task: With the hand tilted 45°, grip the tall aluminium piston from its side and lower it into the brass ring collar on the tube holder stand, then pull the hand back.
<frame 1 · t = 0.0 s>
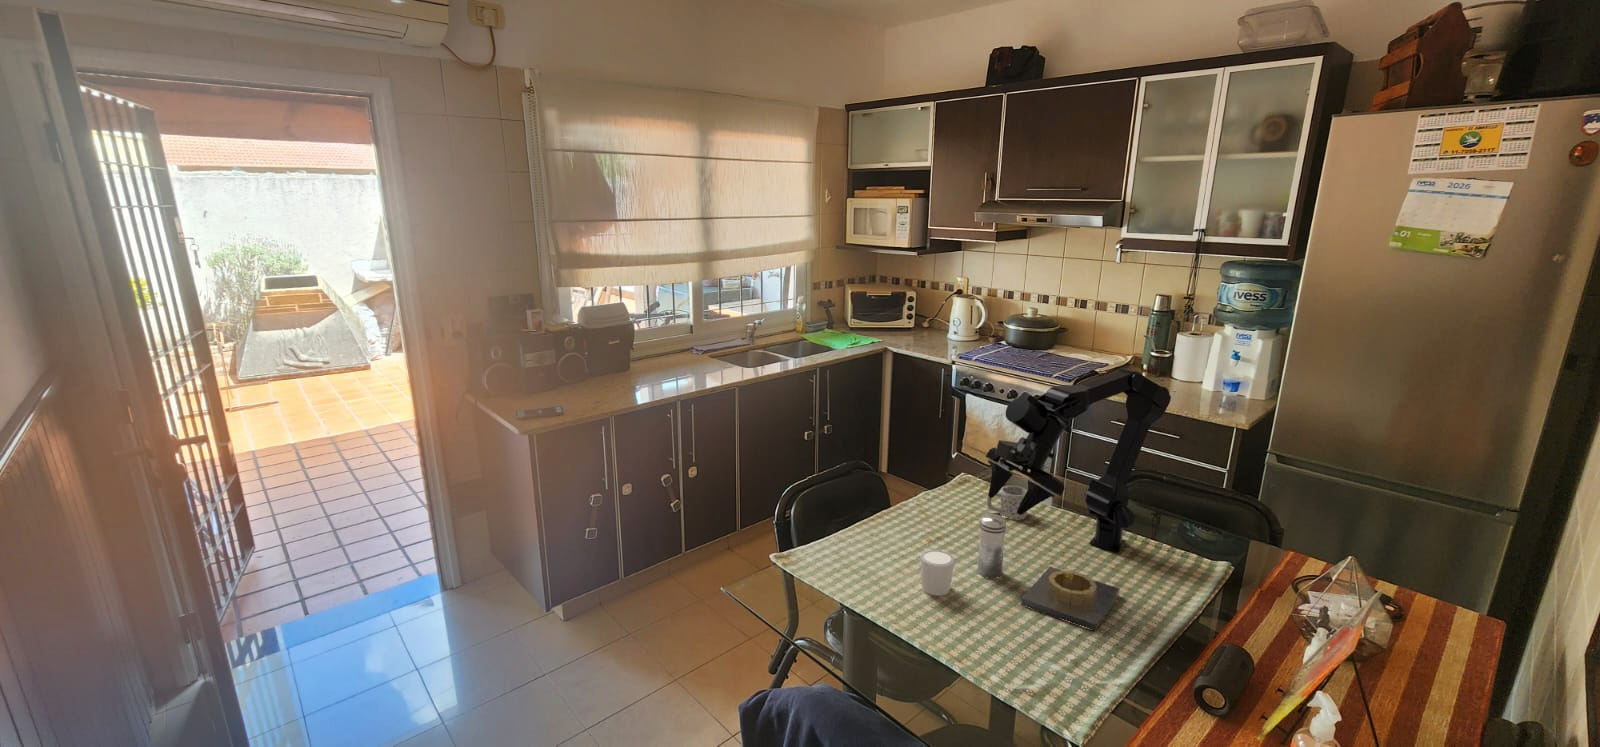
hand: (1003, 505, 142), 15 cm above the table, tool tilted 35°, fingers open, 9 cm apart
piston: (989, 572, 144), on the table
tube holder stand: (1070, 600, 134), on the table
mug: (1006, 514, 173), on the table
white cylinder: (935, 589, 138), on the table
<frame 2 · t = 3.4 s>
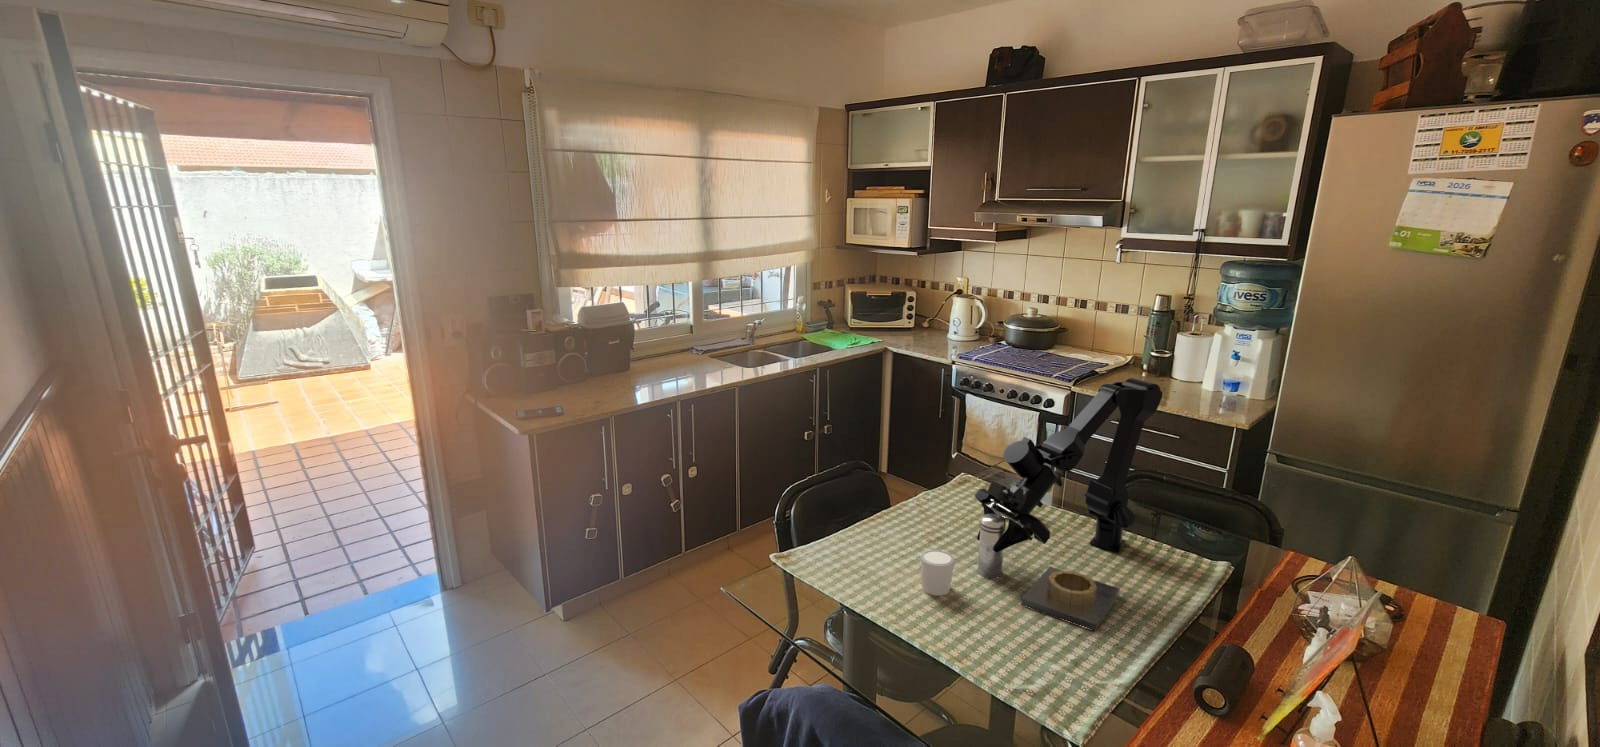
hand: (986, 545, 142), 7 cm above the table, tool tilted 45°, fingers closed on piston, 5 cm apart
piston: (989, 572, 144), on the table, touching gripper
everything else where it was.
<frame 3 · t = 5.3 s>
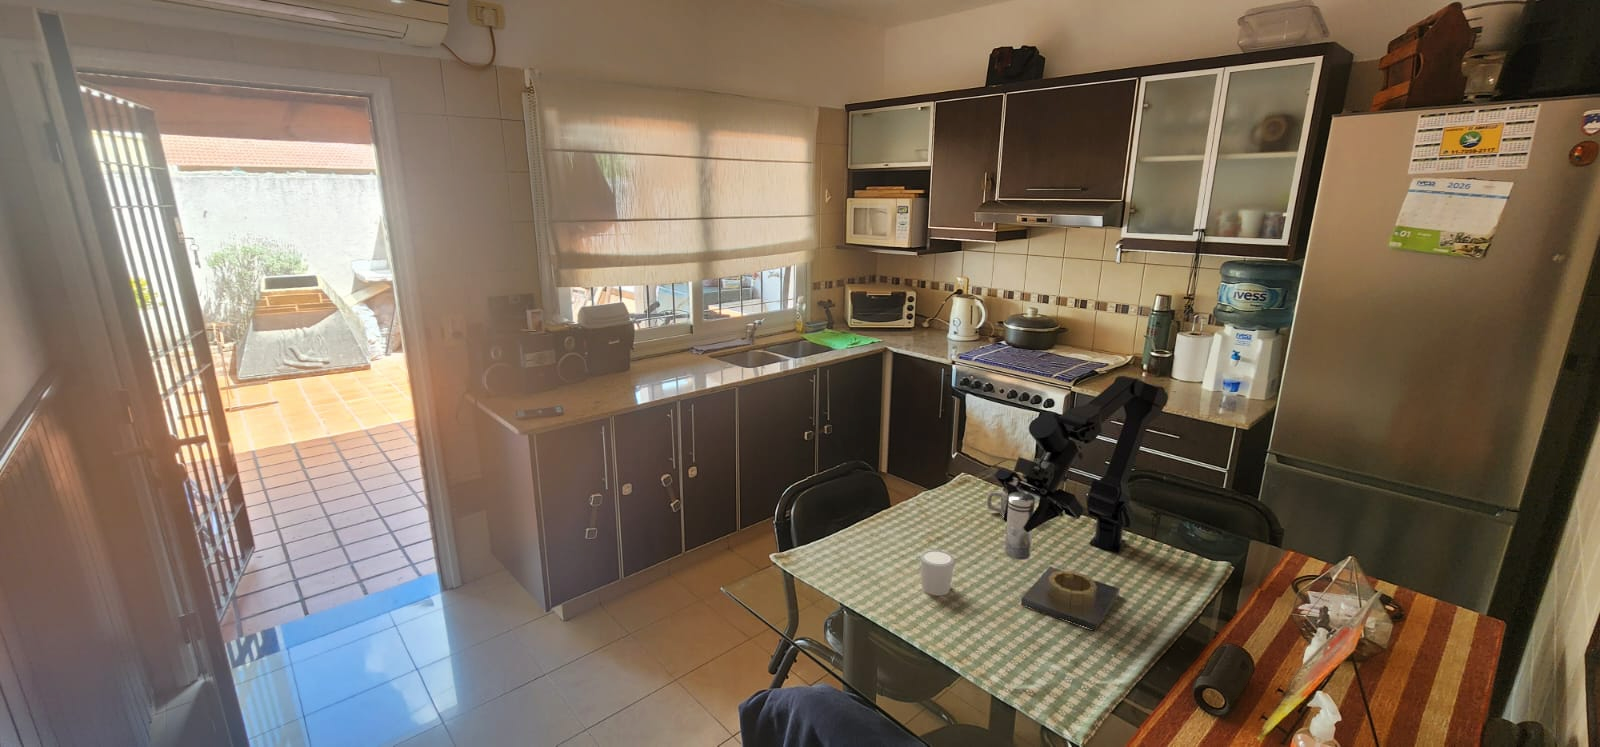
hand: (1015, 525, 136), 13 cm above the table, tool tilted 45°, fingers closed on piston, 5 cm apart
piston: (1017, 553, 138), point 7 cm above the table, touching gripper
everything else where it was.
when the fingers open (9 cm above the table, at t = 7.5 s): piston stays where it is, resting on tube holder stand.
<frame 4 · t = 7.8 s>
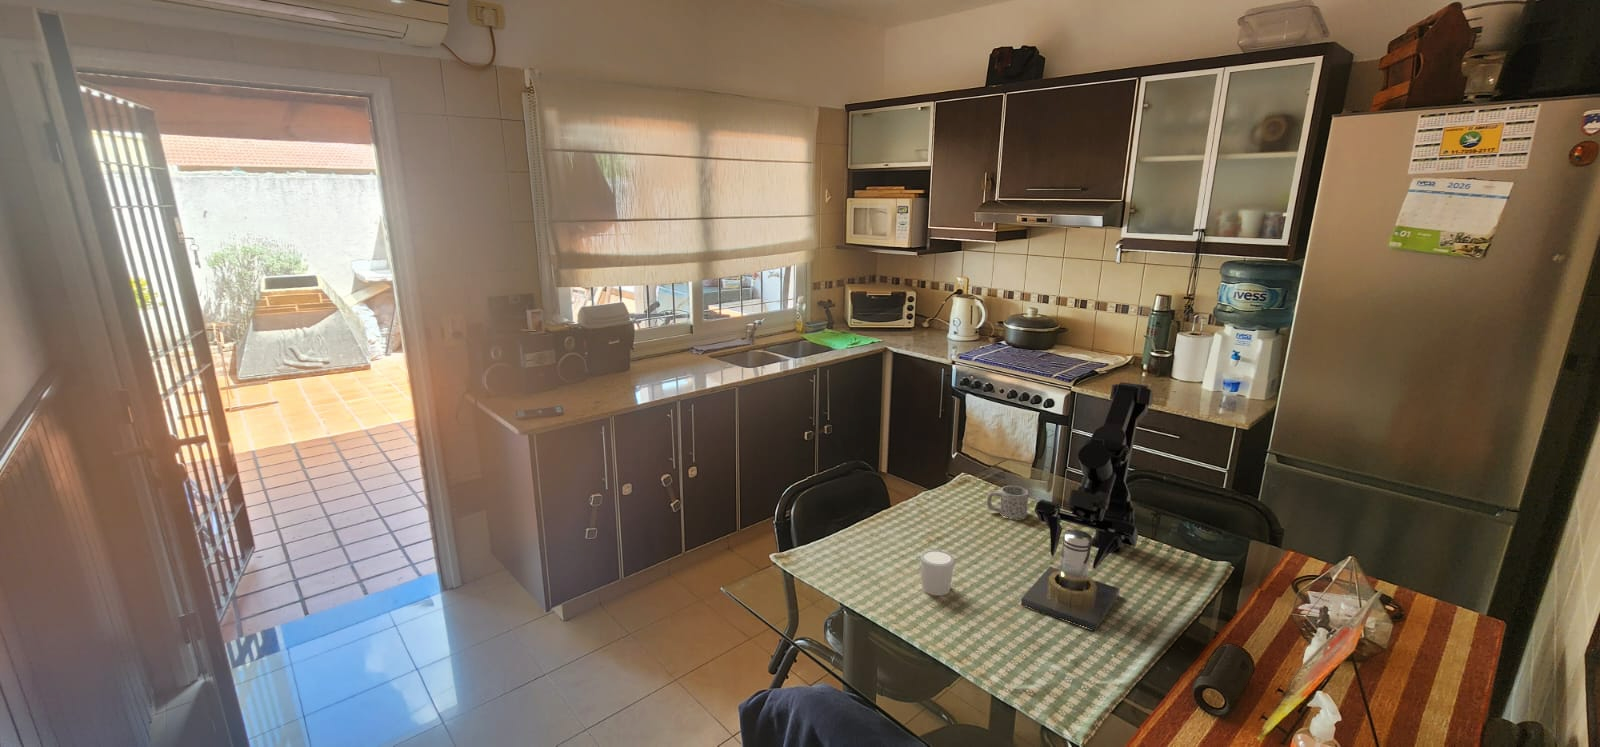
hand: (1072, 561, 131), 9 cm above the table, tool tilted 45°, fingers open, 8 cm apart
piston: (1071, 592, 134), point 2 cm above the table, touching tube holder stand
everything else where it was.
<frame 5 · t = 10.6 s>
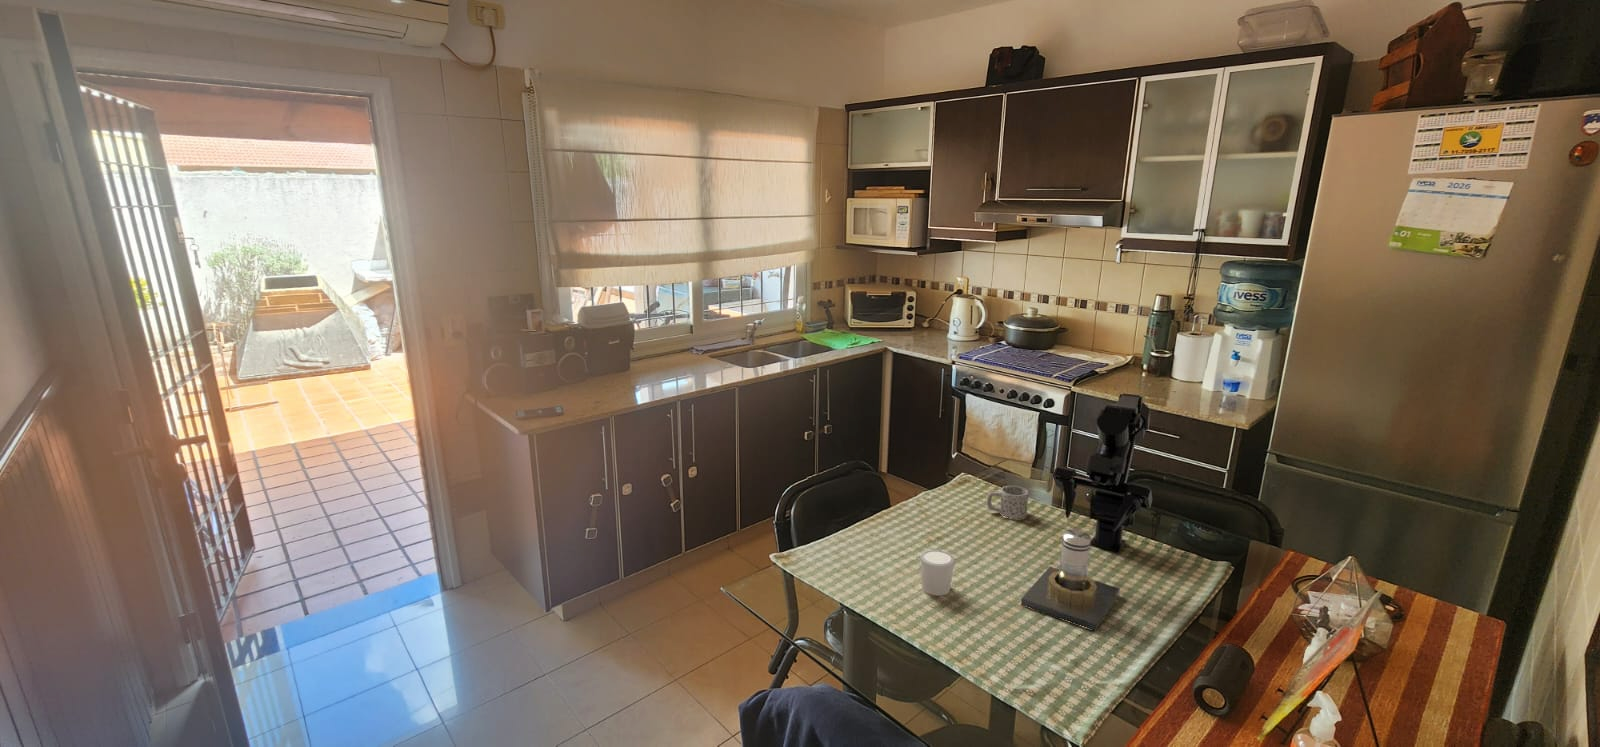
hand: (1090, 523, 137), 14 cm above the table, tool tilted 45°, fingers open, 9 cm apart
nothing on the table moved.
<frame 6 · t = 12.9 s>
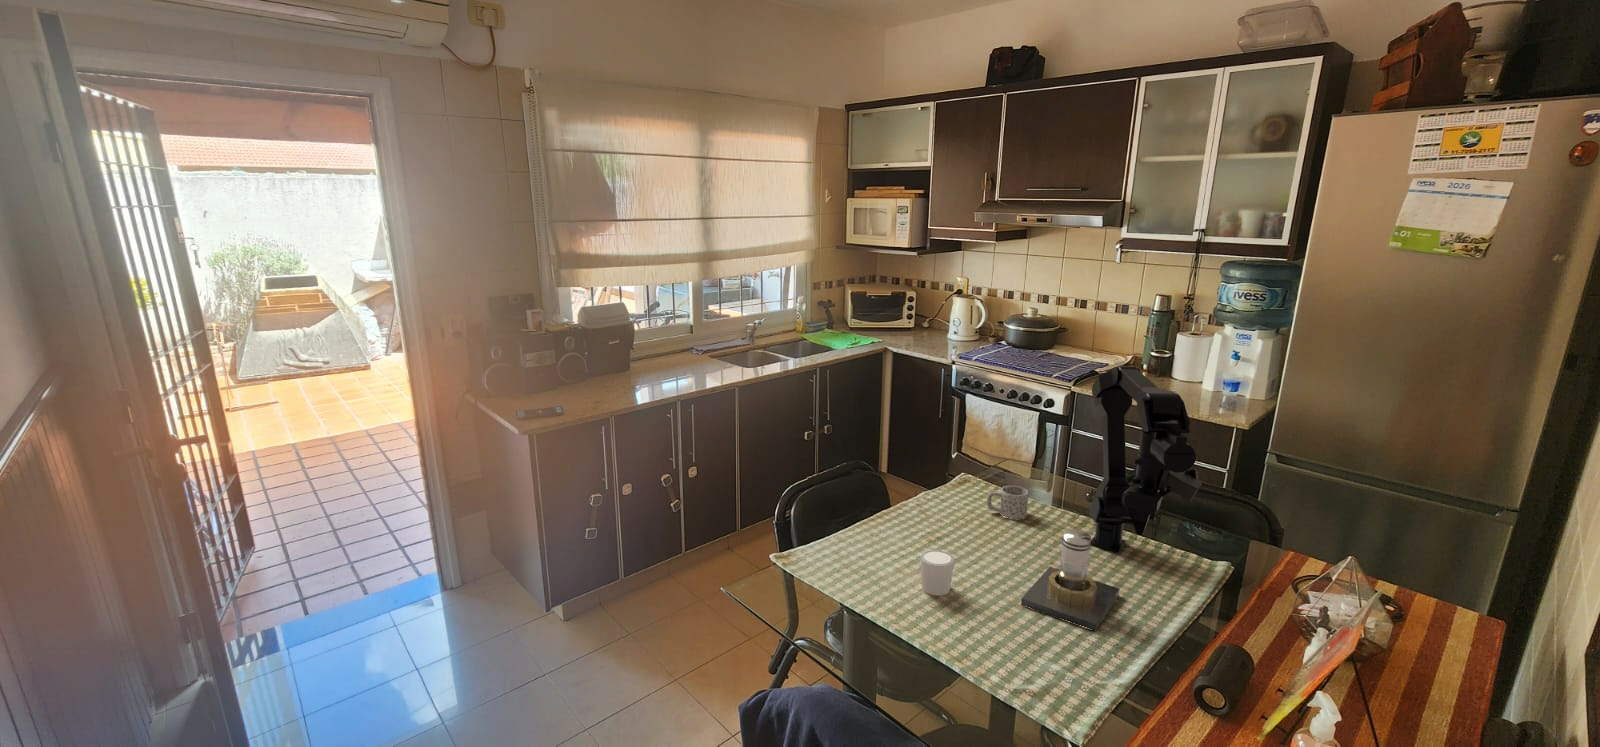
hand: (1145, 526, 137), 13 cm above the table, tool pointing down, fingers open, 9 cm apart
nothing on the table moved.
at the end: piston 0.1 cm from the tube holder stand (horizontally); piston point 1.5 cm above the table; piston tilted 0° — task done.
